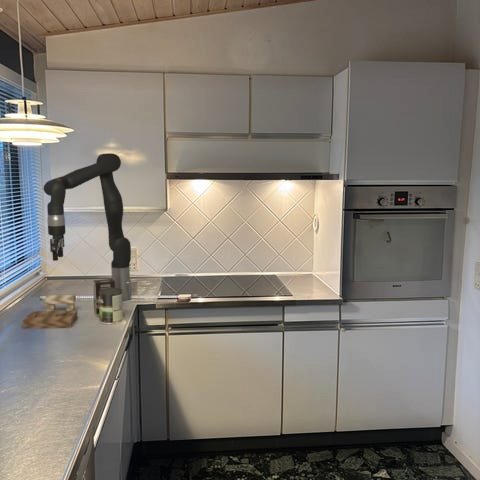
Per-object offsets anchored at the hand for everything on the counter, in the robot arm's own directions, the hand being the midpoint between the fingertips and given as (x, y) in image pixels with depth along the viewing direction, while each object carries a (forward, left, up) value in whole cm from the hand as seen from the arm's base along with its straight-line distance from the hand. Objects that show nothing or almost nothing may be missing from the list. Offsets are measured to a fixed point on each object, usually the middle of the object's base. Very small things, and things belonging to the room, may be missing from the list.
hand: (58, 258), depth 225 cm
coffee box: (-21, +3, -26) cm, 34 cm away
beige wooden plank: (0, 0, -26) cm, 26 cm away
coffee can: (-26, +14, -26) cm, 39 cm away
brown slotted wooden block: (0, +16, -26) cm, 31 cm away
